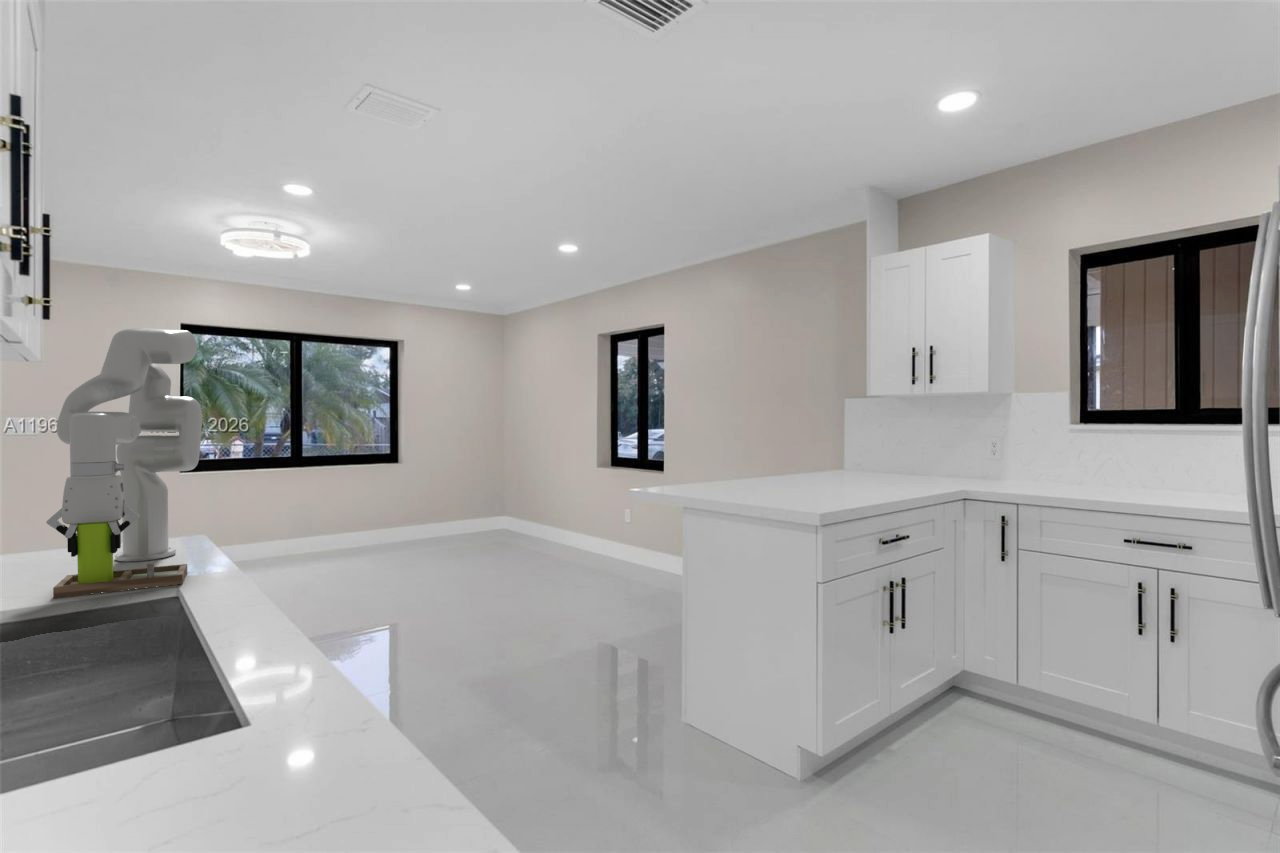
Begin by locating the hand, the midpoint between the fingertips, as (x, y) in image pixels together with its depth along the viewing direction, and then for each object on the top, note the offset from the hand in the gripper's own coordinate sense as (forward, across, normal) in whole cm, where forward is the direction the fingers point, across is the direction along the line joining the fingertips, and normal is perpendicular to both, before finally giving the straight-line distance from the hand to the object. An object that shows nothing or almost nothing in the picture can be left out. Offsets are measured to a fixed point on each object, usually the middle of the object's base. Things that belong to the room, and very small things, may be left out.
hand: (94, 553), depth 140 cm
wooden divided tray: (+8, -5, 0) cm, 9 cm away
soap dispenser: (+7, 0, 0) cm, 7 cm away
